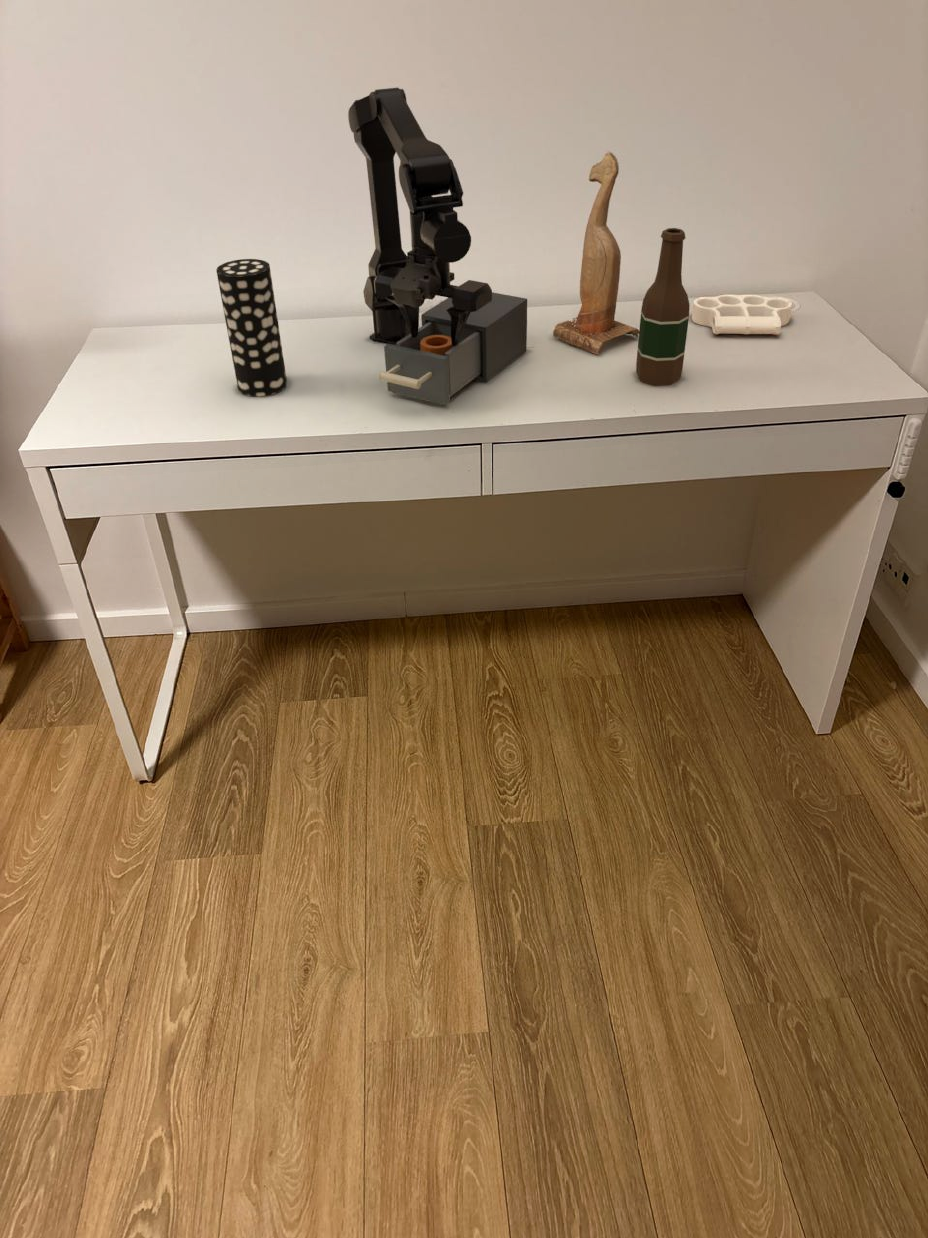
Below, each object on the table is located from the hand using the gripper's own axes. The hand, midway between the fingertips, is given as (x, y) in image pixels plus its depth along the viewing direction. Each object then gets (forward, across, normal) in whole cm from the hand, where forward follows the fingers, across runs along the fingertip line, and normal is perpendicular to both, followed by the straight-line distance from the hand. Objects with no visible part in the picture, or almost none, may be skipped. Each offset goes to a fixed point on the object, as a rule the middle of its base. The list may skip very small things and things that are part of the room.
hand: (434, 340), depth 157 cm
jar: (+6, 0, +1) cm, 6 cm away
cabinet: (+8, 0, +13) cm, 16 cm away
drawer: (+7, 0, -2) cm, 8 cm away
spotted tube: (+8, -27, -13) cm, 31 cm away
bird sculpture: (+8, +15, +31) cm, 36 cm away
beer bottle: (+8, +31, +21) cm, 39 cm away
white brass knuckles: (+8, +36, +50) cm, 62 cm away
